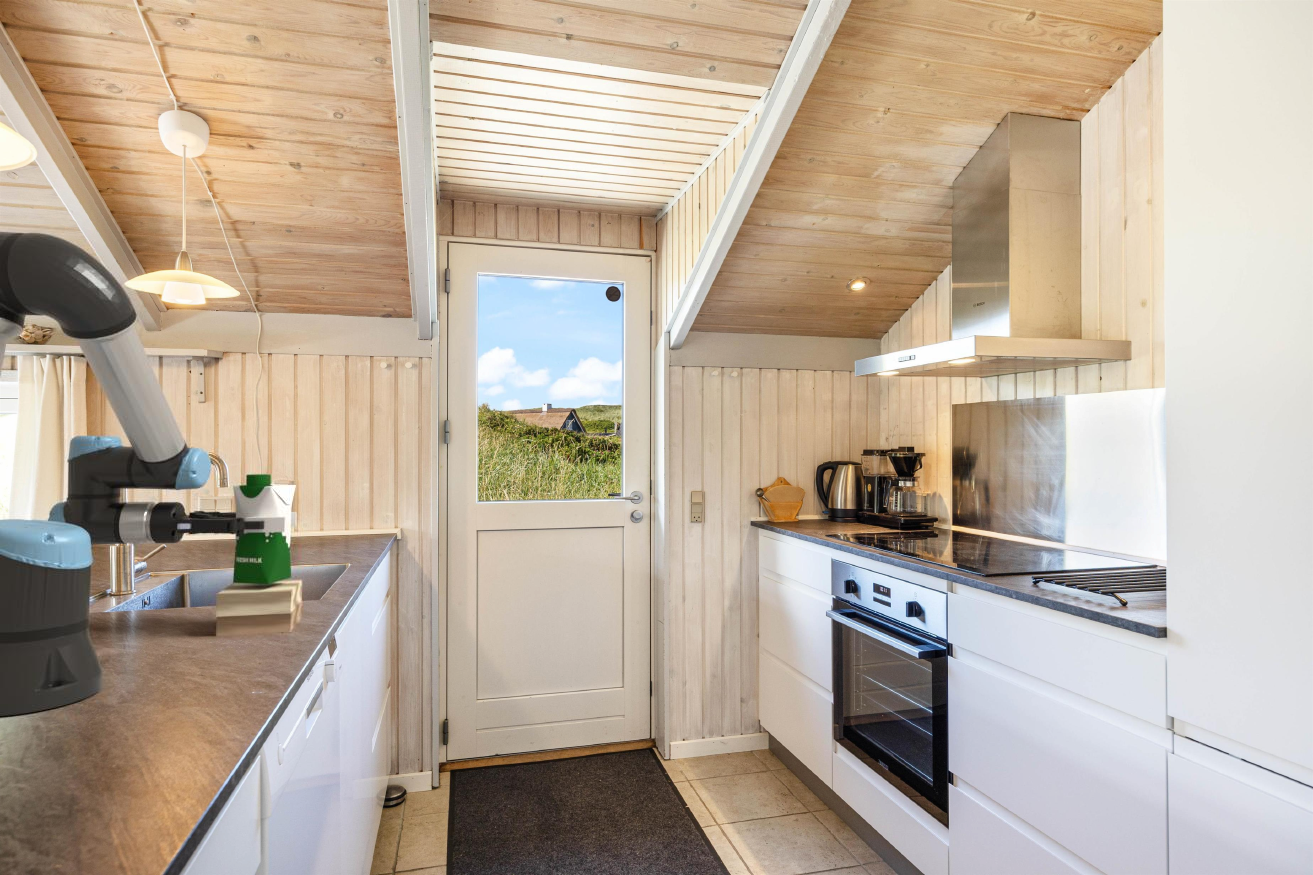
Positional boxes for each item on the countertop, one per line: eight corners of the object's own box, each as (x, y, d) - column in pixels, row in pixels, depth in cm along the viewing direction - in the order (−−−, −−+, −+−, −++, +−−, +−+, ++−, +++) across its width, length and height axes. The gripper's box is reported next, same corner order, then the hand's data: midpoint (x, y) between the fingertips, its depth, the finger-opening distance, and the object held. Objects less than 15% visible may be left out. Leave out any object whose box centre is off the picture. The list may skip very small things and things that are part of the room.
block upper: (290, 613, 133) (291, 591, 133) (216, 616, 129) (216, 594, 129) (301, 599, 144) (302, 579, 144) (233, 602, 141) (234, 581, 141)
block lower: (290, 635, 133) (290, 613, 133) (216, 638, 129) (216, 616, 129) (302, 619, 144) (303, 599, 144) (234, 622, 141) (235, 602, 141)
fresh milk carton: (224, 583, 133) (227, 474, 133) (256, 575, 142) (259, 472, 142) (269, 585, 132) (272, 475, 133) (299, 576, 141) (301, 474, 142)
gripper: (176, 535, 143) (301, 534, 149) (129, 551, 122) (276, 549, 128) (177, 497, 143) (302, 497, 149) (130, 507, 122) (278, 506, 128)
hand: (290, 521), depth 139 cm, fingers closed on fresh milk carton, 9 cm apart
